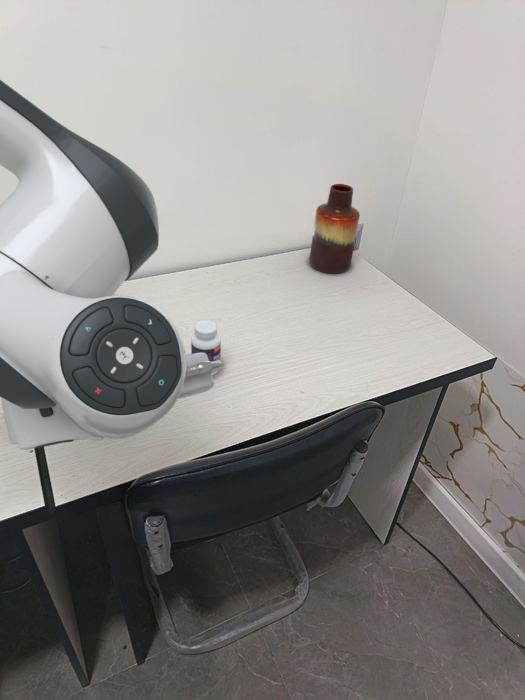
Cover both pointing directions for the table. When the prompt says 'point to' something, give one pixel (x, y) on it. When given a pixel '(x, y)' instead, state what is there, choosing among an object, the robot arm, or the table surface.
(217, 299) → the table surface
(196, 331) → the pill bottle
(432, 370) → the table surface
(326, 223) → the vase
